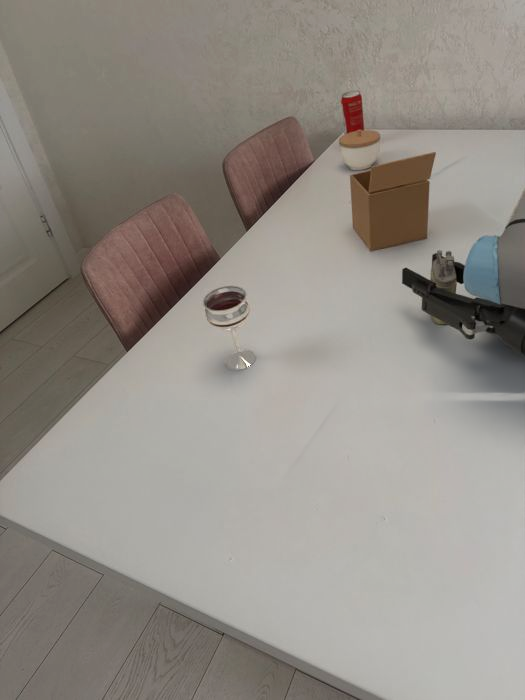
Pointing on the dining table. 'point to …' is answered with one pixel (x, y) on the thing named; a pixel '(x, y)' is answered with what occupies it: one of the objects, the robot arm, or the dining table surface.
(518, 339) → the robot arm
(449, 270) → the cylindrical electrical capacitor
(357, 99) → the beverage can
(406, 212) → the carton
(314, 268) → the dining table surface
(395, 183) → the carton flap
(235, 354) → the wineglass
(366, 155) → the trinket box
